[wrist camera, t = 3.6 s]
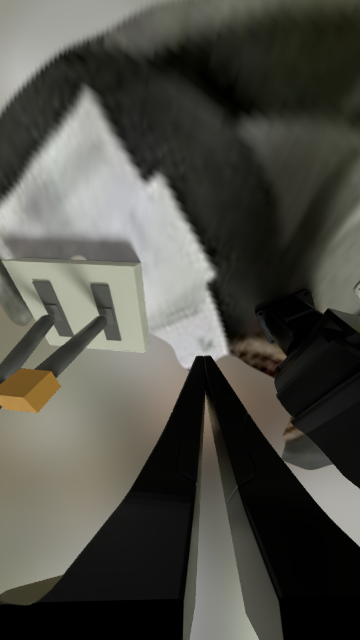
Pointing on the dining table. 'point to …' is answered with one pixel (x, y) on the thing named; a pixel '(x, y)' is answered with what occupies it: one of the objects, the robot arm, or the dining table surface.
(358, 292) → the emergency button
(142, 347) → the breaker panel
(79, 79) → the dining table surface
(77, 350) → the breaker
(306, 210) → the dining table surface
